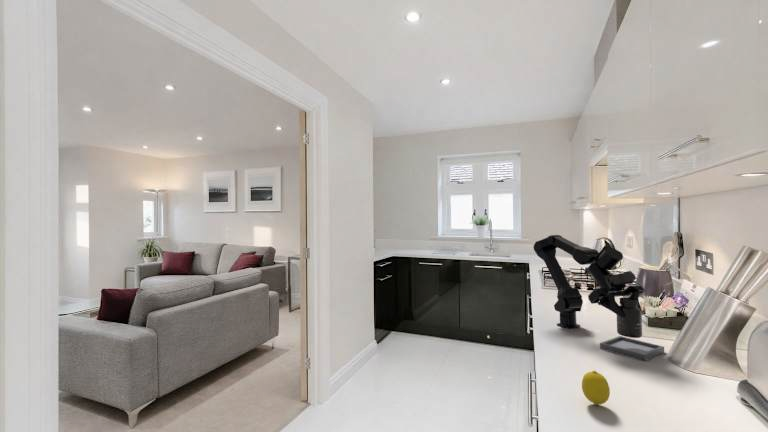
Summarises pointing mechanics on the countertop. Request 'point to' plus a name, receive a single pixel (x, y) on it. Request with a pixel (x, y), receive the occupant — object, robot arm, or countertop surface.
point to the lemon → (595, 387)
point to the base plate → (632, 348)
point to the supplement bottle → (630, 319)
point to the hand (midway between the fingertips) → (632, 316)
